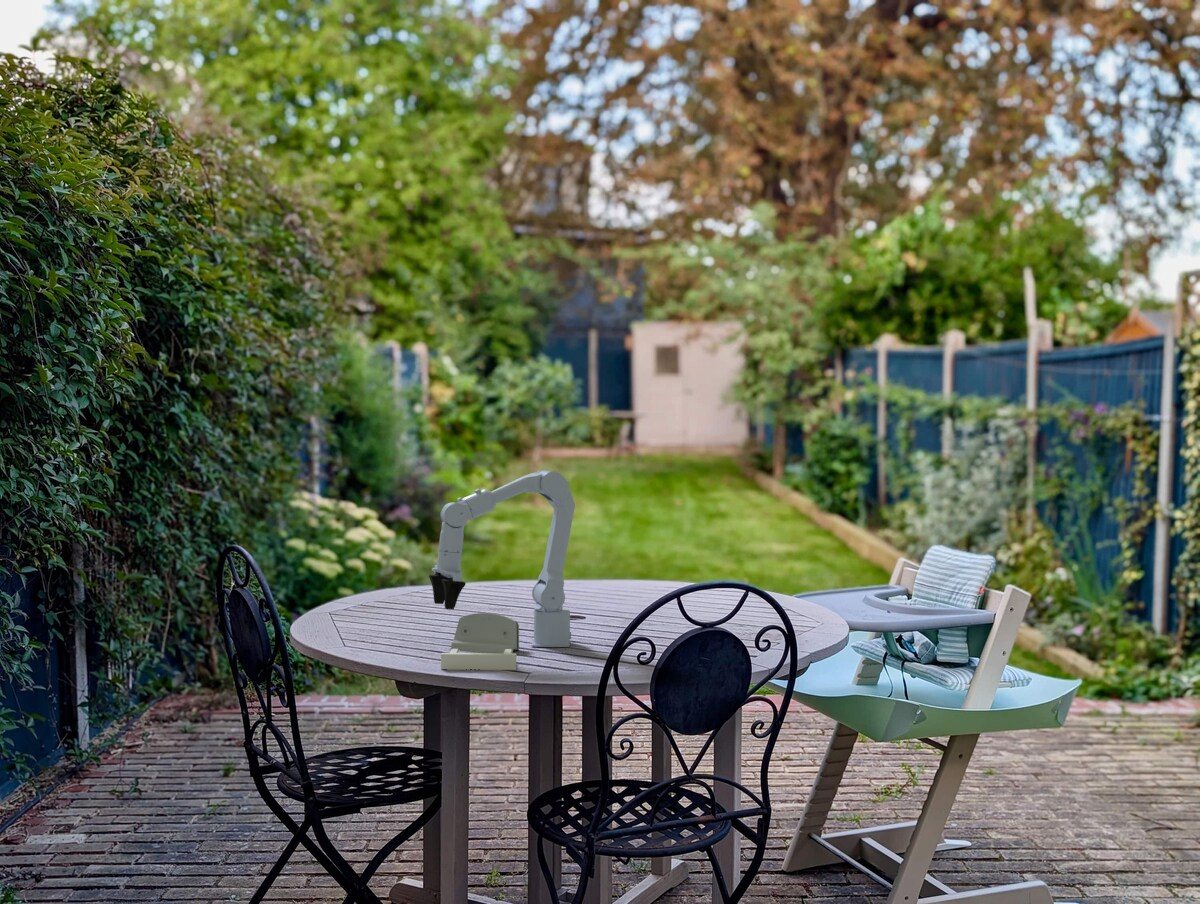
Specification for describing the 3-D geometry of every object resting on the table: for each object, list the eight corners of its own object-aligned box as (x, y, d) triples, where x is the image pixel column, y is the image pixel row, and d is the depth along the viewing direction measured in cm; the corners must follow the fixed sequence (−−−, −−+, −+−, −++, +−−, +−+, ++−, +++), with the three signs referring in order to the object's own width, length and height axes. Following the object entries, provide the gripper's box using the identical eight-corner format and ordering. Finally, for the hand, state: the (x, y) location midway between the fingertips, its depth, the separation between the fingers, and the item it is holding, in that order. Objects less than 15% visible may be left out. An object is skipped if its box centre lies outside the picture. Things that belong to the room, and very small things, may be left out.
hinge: (449, 649, 278) (454, 609, 281) (456, 652, 282) (461, 613, 285) (513, 654, 274) (518, 613, 276) (519, 657, 278) (524, 616, 281)
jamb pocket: (517, 661, 265) (517, 647, 265) (515, 670, 257) (515, 654, 256) (445, 661, 265) (445, 646, 265) (440, 669, 256) (441, 654, 256)
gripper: (425, 546, 282) (418, 600, 282) (445, 554, 269) (438, 610, 269) (451, 548, 285) (445, 601, 285) (472, 555, 272) (466, 611, 272)
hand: (444, 606), depth 277 cm, fingers open, 7 cm apart
